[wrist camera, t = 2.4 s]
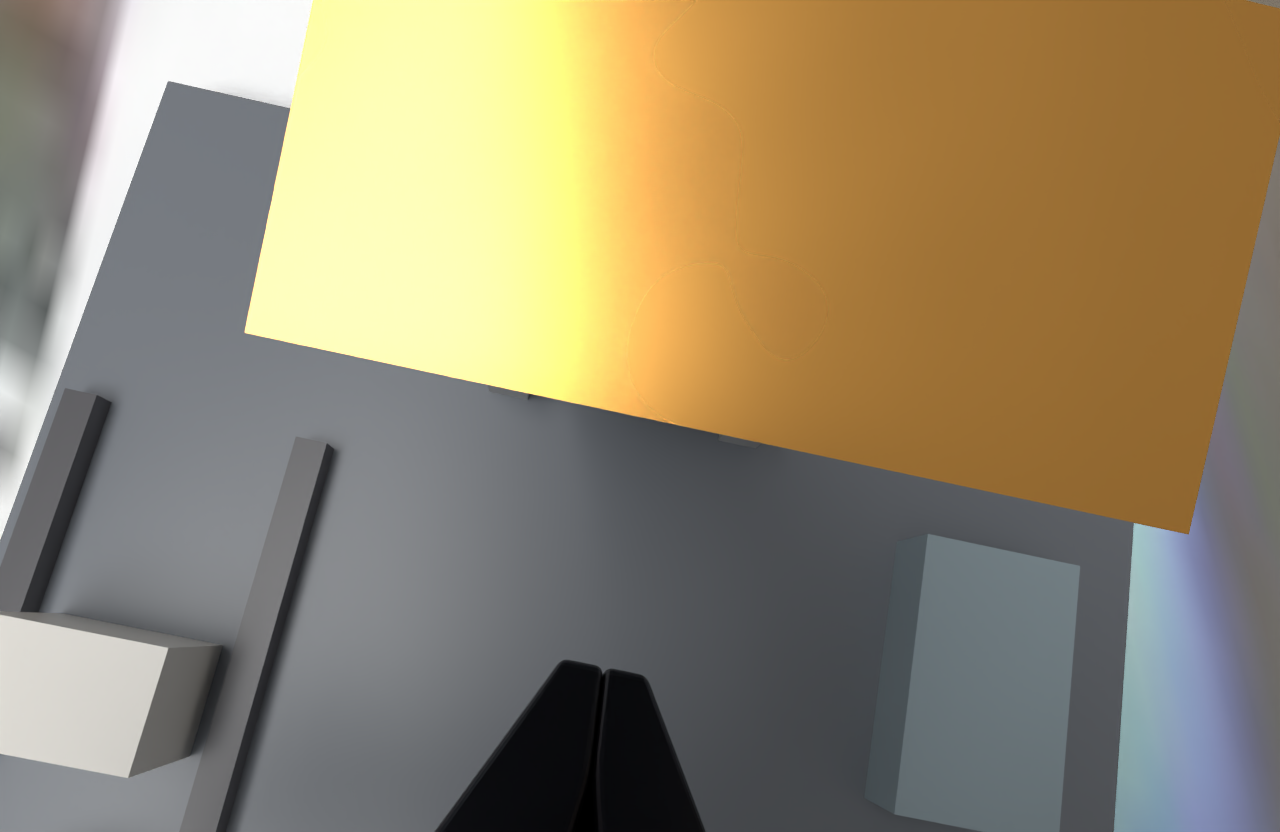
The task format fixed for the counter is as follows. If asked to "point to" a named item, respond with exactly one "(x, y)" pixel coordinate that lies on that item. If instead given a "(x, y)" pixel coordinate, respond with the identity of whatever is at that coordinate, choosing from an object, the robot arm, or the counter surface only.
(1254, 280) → the counter surface
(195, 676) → the slider
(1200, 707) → the counter surface
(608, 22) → the lever
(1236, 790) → the counter surface
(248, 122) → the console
